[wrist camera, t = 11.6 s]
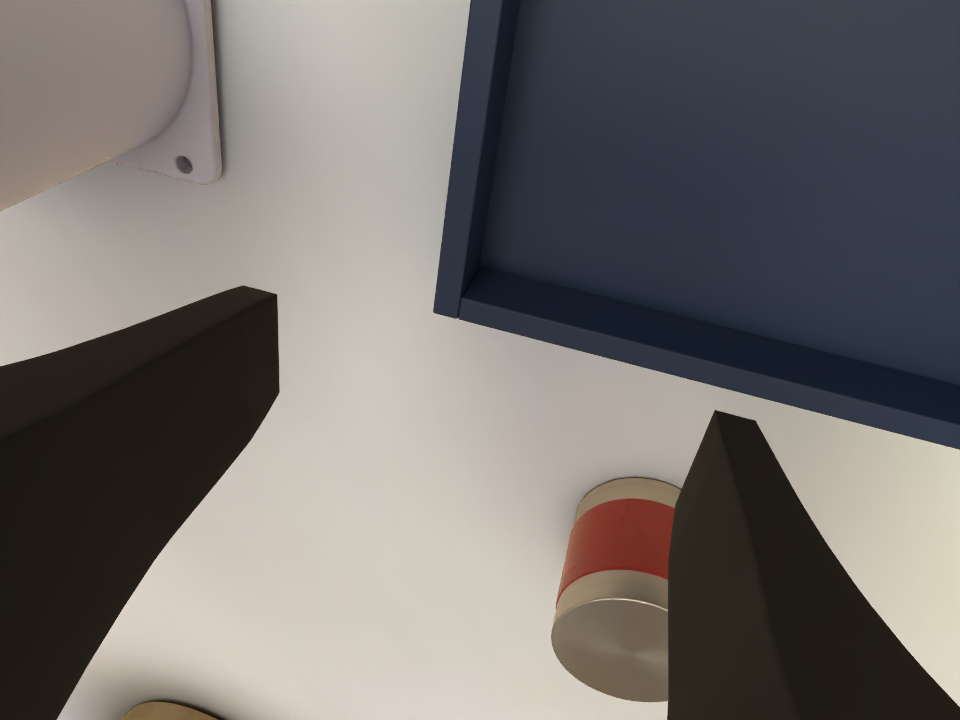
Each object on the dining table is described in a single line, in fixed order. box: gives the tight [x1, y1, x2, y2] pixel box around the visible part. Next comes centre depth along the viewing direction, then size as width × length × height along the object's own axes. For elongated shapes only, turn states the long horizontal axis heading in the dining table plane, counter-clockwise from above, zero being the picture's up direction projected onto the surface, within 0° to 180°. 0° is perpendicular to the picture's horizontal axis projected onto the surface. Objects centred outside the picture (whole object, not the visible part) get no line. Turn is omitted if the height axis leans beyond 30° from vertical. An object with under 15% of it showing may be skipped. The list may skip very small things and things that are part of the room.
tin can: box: [551, 478, 681, 702], centre depth 23 cm, size 5×5×5 cm
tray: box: [433, 0, 960, 449], centre depth 16 cm, size 15×14×2 cm
